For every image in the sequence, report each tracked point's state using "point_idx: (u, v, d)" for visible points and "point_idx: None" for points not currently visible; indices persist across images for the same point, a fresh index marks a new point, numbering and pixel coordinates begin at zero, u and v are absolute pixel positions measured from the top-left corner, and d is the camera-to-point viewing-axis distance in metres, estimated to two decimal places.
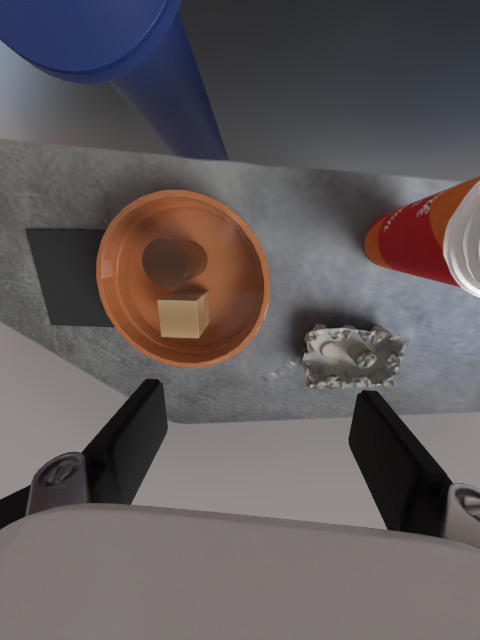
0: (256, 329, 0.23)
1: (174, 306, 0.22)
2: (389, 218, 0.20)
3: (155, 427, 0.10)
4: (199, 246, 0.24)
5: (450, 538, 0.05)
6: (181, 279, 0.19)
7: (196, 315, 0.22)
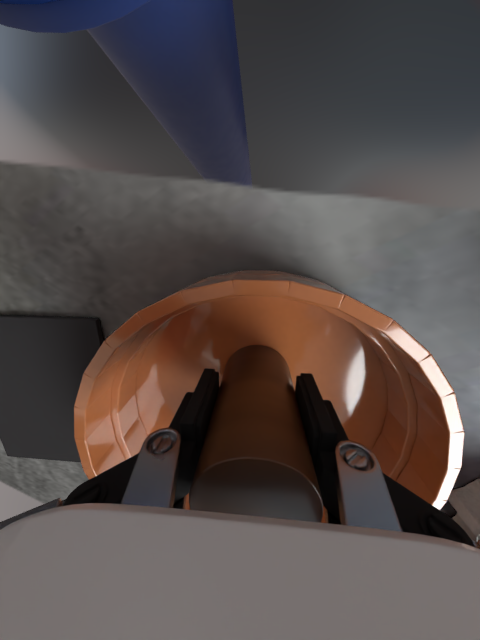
0: None
1: None
2: None
3: None
4: (282, 362, 0.12)
5: (346, 498, 0.06)
6: None
7: None
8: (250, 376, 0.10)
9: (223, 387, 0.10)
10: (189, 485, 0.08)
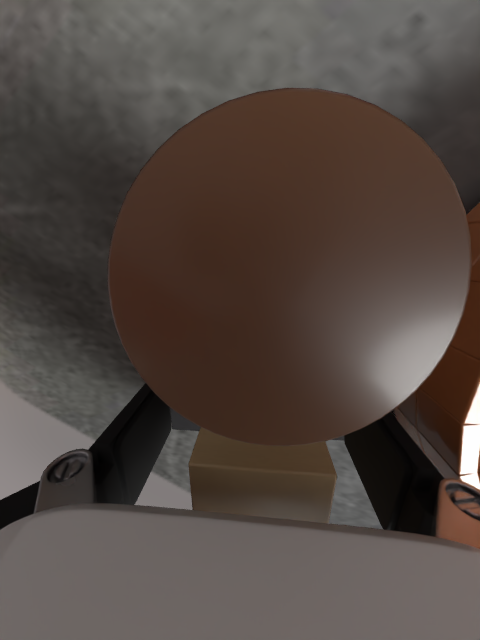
0: None
1: (249, 487, 0.06)
2: None
3: (159, 425, 0.10)
4: None
5: (441, 533, 0.05)
6: (378, 413, 0.03)
7: (328, 516, 0.06)
8: None
9: None
10: None
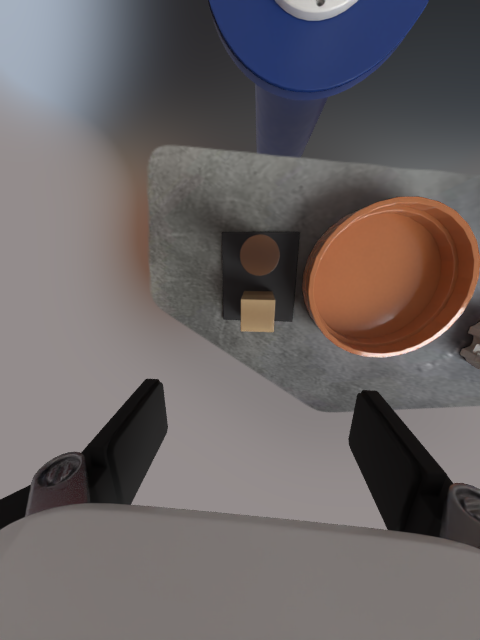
0: (453, 322, 0.26)
1: (255, 305, 0.26)
2: None
3: (155, 427, 0.10)
4: None
5: (450, 538, 0.05)
6: (272, 269, 0.23)
7: (274, 312, 0.26)
8: None
9: None
10: None
